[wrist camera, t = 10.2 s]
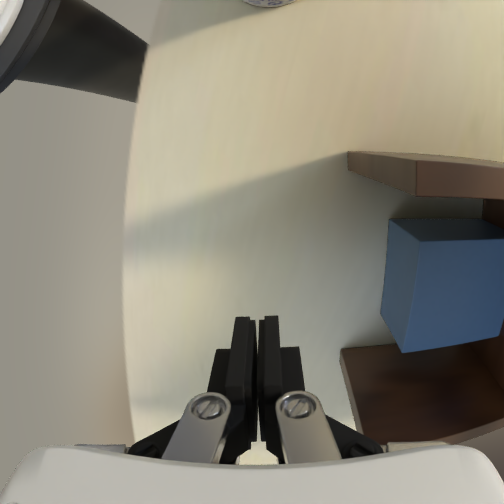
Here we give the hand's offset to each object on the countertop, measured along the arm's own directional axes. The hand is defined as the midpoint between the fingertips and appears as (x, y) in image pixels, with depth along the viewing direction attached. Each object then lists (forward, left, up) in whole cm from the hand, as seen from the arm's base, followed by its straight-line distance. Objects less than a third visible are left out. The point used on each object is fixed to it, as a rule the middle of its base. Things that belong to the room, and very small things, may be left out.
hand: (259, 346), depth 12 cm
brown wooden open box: (+11, -1, -9) cm, 15 cm away
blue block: (+12, -1, -9) cm, 15 cm away
